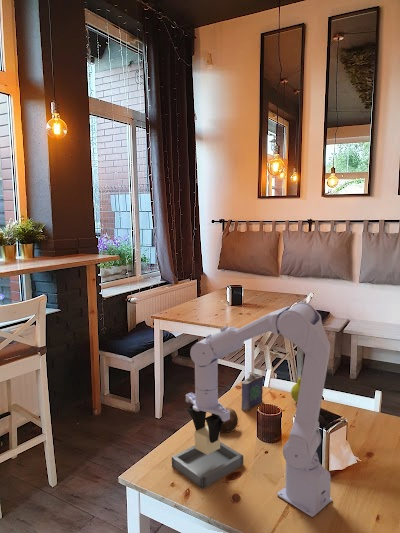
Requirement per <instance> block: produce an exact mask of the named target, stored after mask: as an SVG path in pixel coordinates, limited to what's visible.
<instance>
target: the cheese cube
mask: <svg viewBox="0 0 400 533" xmlns="http://www.w3.org/2000/svg"><path fill="white" fill-rule="evenodd" d="M220 433H221V432H220ZM220 433H219V437H218V440H217V441H216V442H214V443H211V442H210V439H209V429H208V425H205V427H204V428H201V429H199V430H197V431H196V430H195V431H194V444H195V449H197V450H199V451H201V452H203V453H205V454H206V455H208V454H210V453H212V452H214V451H216V450H218V449H220V442H221V437H220V436H221V435H220Z"/></svg>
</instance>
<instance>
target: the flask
mask: <svg viewBox="0 0 400 533" xmlns="http://www.w3.org/2000/svg"><path fill="white" fill-rule="evenodd" d="M248 375H249V376H248V378H245V380H243V381H242V382H241V410H242V412H243V411H244V412H249V411H251V410H252V409H255V408H256V407H257V406H259V405H262V404H263V392H264V390H263V388H264V387H263V384H264V376H263V374H254V373H253V372H252V371H251V372H248Z"/></svg>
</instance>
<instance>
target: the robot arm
mask: <svg viewBox="0 0 400 533" xmlns="http://www.w3.org/2000/svg"><path fill="white" fill-rule="evenodd" d="M219 330H220V331H219V332H216V333H215V334H208V335H206V336H205V338H203V339H201V340H200V341H197V342H195V344H193V345H192V346H191V347H190V350H189V351H190V352H189V353H190V355H189V356H190V358H191V361H192V362H193V363H194V389H195V390H194V392H195V393H193V392H189V393H186V394H185V402H186V403H191V405H190V406H188V407H187V412H188V414H189V415H190V417H191V419H192V422H193V424H194V428H195V431H197V430H199V429H201V428H204V427H206V426H208V429H209V439H210V442H211V443H214V442H216V441H217V440H218V437H219V433H221V432H220V430H221V427H222V425H223V423H224V422H225V421H227V420H229V419H230V412H229V411H228V410H226V409H225V408H224V407H225V406H223V405H222V404H221V402H220V401H219V381H218V380H219V378H218V377H219V376H218V375H219V374H218V373H219V369H218V366H219V359H220V358H221V359H222V358H223V357H226V356H227V355H230V354H232V353H235V352H236V351H239V350H241V349H243V346H244V343H245V342H246V341H249V340H251V339H253V338H255V337H258V336H261V335H263V334H265V333H269V332H270V333H271V334H274V335H277V336H279V335H280V334H281V336H282V337H284V338H285V339H286V340H287V341H289V342H290V343H292V344H294V345H295V346H297V347H299V349H300V350H301V351H302V352H303V354H304V360H303V366H302V378H301V384H300V390H299V396H298V402H296V403H297V404H296V408H295V416H294V420H293V424H292V427H291V430H290V431H289V432H290V433H289V438H288V440H287V441H286V442H285V444H284V445H283V447H282V456H283V458H284V460H285V487H283V488H282V489H281V490H279V491H278V492H277V496H278V497H280V498H281V499H282V500H285V501H286V502H287V503H289V504H290V505H292V506H293V507H295V508H297V509H298V510H300V511H302V512H303V513H305V514H306V515H308V516H310V517H312V518H313V517H315V516H316V515H317V514H318V513H320V512H321V510H323V508H325V507H326V506H327V505H328V504H329V503H330V502H333V498H332V497H331V481H332V480H331V478H332V476H331V473H330V471H329V470H327V469H326V468H325V467H324V466H323V465H322V463H320V458H319V455H318V452H317V449H318V448H319V446H320V445H321V442H322V437H321V436H322V435H321V432H320V422H319V416H320V411H321V405H322V400H323V395H324V388H325V383H326V377H327V371H328V366H329V360H330V355H331V349H332V348H331V343H330V340H329V337H328V336H327V333H326V329H325V327H324V325H323V322H322V316H321V314H320V313H319V312H318V311H317V310H316V309H315V308H314V306H312V305H311V304H310V303H308V302H300V301H299V302H297V303H295V304H293V305H292V307H291V306H289V305H288V306H285V307H283V308H279V309H277V310H274V311H271V312H269V313H267V314H265V315H263V316H261V317H259V318H258V319H255V320H254V321H251V322H249V323H247V324H246V325H244V326H242V327H240V328H238V327H235V326H233V325H231V326H229V327H228V326H227V325H225V326H223V327H222V328H220V329H219ZM208 413H209V414H211V415H209V416H207V414H208Z"/></svg>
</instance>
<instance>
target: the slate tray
mask: <svg viewBox="0 0 400 533" xmlns="http://www.w3.org/2000/svg"><path fill="white" fill-rule="evenodd" d="M243 465H244V455H243V454H241V453H239V452H238V451H236V450H235V449H234V448H231V447H230V446H228V445H226V444H224V443H223V442H221V441H220V449H218V450H216V451H214V452H212V453H210V454H208V455H206V454H205V453H203V452H201V451H199V450H197V449H195V445H193V446H190V447H188V448H187V449H184V450H183V451H181V452H179V453H177V454H174V455H173V456H171V467H173V469H175V470H176V471H178V472H179V473H180V474H182V475H183V476H184V477H186V478H187V479H189V480H190V481H191V482H192V483H193V484H195V485H197V486H198V487H199V488H200V489H202V490H204V489H206V488H207V487H209V486H211V485H212V484H214V483H215V482H218V481H219V480H221V479H222V478H224V477H225V476H227V475H228V474H230V473H232V472H233V471H235V470H237V469H238V468H240V467H242V466H243Z"/></svg>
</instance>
